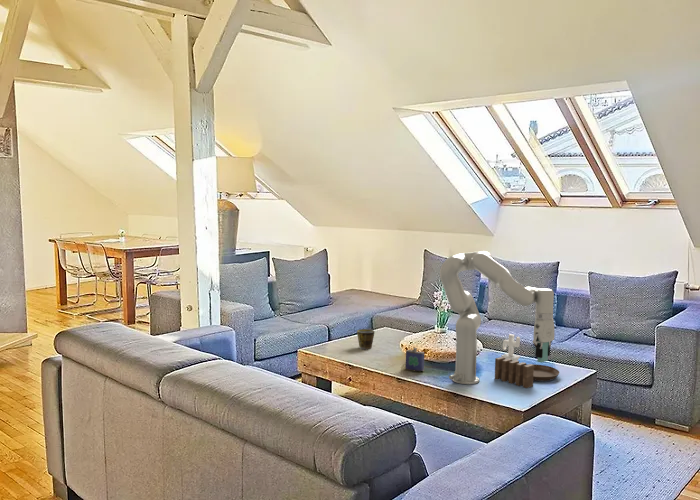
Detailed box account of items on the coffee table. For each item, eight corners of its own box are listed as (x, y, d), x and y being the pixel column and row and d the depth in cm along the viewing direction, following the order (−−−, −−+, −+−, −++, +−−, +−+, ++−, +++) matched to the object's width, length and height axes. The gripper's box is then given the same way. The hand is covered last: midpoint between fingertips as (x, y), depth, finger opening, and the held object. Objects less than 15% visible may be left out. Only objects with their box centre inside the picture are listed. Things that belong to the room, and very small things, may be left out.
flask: (424, 371, 314) (425, 348, 313) (422, 372, 311) (422, 349, 310) (406, 368, 319) (407, 345, 318) (404, 369, 316) (404, 347, 315)
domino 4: (525, 384, 294) (526, 363, 294) (519, 386, 291) (519, 364, 290) (522, 383, 296) (522, 362, 295) (515, 385, 293) (516, 363, 292)
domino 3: (518, 382, 298) (519, 361, 297) (511, 383, 294) (512, 362, 293) (514, 381, 299) (515, 360, 298) (508, 382, 296) (509, 362, 295)
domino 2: (511, 380, 301) (512, 359, 300) (504, 381, 297) (505, 361, 297) (507, 379, 302) (508, 358, 301) (501, 380, 299) (502, 360, 298)
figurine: (506, 359, 338) (507, 331, 336) (522, 363, 331) (523, 334, 329) (498, 361, 333) (499, 333, 331) (514, 365, 326) (515, 337, 324)
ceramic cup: (361, 345, 365) (361, 328, 364) (377, 347, 361) (377, 330, 360) (351, 350, 354) (351, 332, 353) (367, 352, 349) (367, 334, 348)
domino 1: (504, 378, 304) (505, 357, 303) (498, 379, 301) (498, 359, 300) (501, 377, 305) (501, 356, 304) (494, 378, 302) (495, 358, 301)
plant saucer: (548, 385, 293) (548, 378, 293) (507, 376, 307) (507, 370, 306) (566, 376, 309) (566, 369, 308) (526, 368, 322) (526, 361, 322)
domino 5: (532, 386, 291) (533, 365, 290) (526, 388, 288) (527, 366, 287) (529, 385, 293) (530, 364, 292) (522, 387, 290) (523, 365, 289)
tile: (537, 361, 283) (538, 339, 282) (543, 359, 286) (544, 338, 285) (541, 362, 281) (542, 340, 281) (547, 360, 285) (548, 338, 284)
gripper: (540, 319, 274) (538, 361, 275) (562, 315, 284) (560, 355, 286) (525, 317, 280) (524, 357, 281) (547, 312, 290) (546, 351, 292)
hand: (542, 355), depth 284 cm, fingers closed on tile, 4 cm apart
